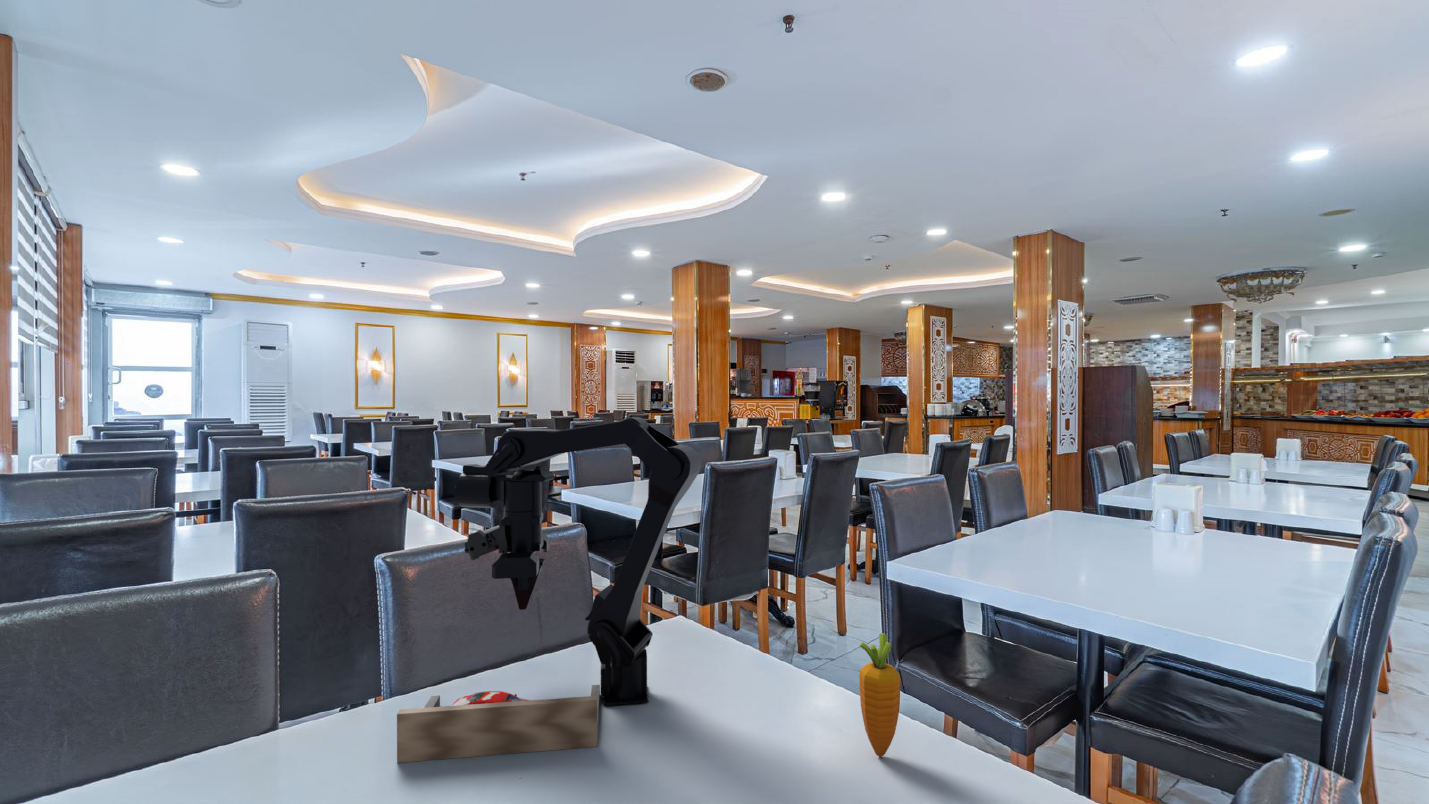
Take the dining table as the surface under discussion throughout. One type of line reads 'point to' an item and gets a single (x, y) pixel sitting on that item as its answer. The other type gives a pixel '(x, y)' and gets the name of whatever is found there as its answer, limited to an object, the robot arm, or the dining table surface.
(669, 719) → the dining table surface
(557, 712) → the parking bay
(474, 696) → the race car
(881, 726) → the carrot
